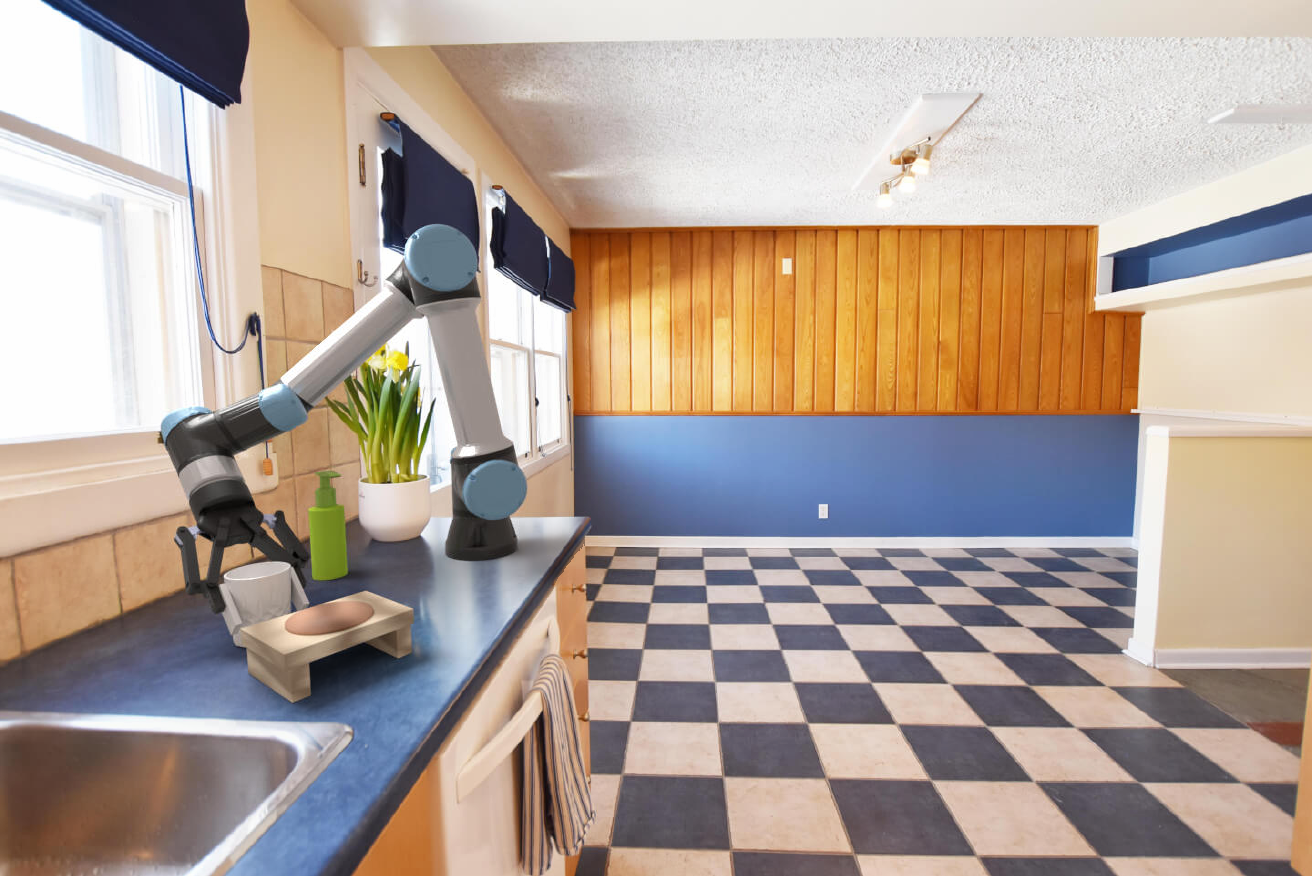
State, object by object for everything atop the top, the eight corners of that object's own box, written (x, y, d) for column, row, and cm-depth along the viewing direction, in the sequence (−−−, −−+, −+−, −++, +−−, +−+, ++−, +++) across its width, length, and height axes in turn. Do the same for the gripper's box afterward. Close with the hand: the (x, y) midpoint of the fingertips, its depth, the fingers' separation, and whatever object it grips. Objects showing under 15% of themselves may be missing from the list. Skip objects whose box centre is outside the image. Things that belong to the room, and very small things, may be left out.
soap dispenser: (326, 583, 105) (319, 475, 103) (306, 576, 109) (299, 472, 107) (357, 574, 110) (351, 470, 108) (336, 568, 114) (331, 468, 112)
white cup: (258, 624, 88) (254, 560, 87) (307, 627, 87) (303, 562, 86) (214, 648, 80) (208, 578, 79) (267, 651, 79) (262, 580, 78)
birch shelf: (367, 629, 86) (365, 588, 85) (415, 651, 79) (413, 606, 79) (243, 674, 73) (240, 625, 72) (287, 705, 66) (284, 651, 65)
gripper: (284, 496, 99) (338, 608, 91) (125, 520, 82) (174, 660, 74) (297, 468, 95) (354, 583, 88) (133, 487, 78) (186, 631, 71)
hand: (271, 618), depth 81 cm, fingers closed on white cup, 8 cm apart
